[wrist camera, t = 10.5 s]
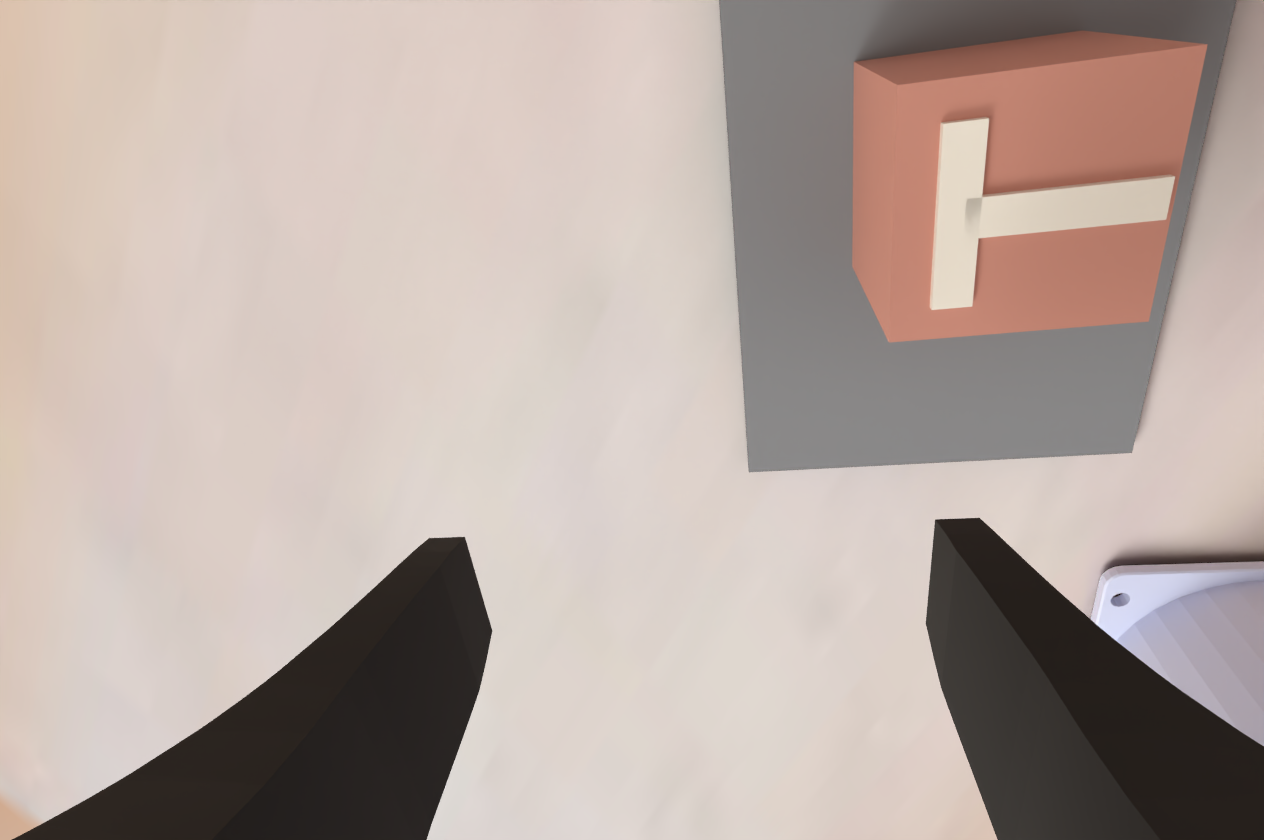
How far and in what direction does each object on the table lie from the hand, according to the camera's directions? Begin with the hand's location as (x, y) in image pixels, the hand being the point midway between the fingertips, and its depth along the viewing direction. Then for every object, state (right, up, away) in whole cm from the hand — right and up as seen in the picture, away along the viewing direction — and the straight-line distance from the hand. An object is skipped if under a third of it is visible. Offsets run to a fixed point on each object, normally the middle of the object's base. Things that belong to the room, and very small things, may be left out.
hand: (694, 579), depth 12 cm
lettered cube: (+6, +8, +5) cm, 11 cm away
